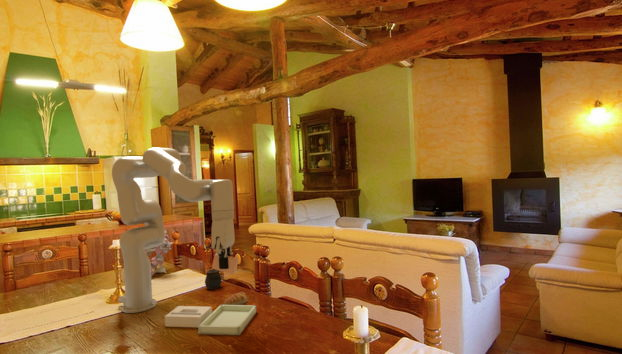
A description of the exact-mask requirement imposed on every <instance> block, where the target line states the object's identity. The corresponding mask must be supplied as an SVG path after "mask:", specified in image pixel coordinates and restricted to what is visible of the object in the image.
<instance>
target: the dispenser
mask: <svg viewBox="0 0 622 354" xmlns="http://www.w3.org/2000/svg"><path fill="white" fill-rule="evenodd" d="M212 308H213V307H212V306H202V305H201V306H199V305H198V306H195V305H192V306H191V305H189V306H188V305H178V306H176V307H174V309H172V310H171V311H170V312H169V313H167V314H166V315H164V327H171V328H173V327H176V328H198V326H199V325H200V324H201V323H202V322H203V321H204V320H205V319H206V318H207V317H208V316H209V315H210V314H211V313H212V312H213V311H212V310H213V309H212Z"/></svg>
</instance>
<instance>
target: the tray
mask: <svg viewBox="0 0 622 354" xmlns="http://www.w3.org/2000/svg"><path fill="white" fill-rule="evenodd" d="M256 313H257V305H254V304H253V305H250V304H248V305H246V304H241V305H223V304H220V305H219V306H217V308H216V309H215V310H214V311H212V313H211V314H210V315H209V316H208V317H207V318H206V319H205V320H204V321H203V322H202V323H201V324H200V325H199V326H198V327H197V330H198V331H197V332H198V335H219V336H222V335H224V336H240V335H241V334H242V332H243V331H244V330H245V328H247V326H248V325H249V323H251V322H250V321H251V320H252V319H253V318H254V316H255V315H256Z"/></svg>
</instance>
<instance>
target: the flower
mask: <svg viewBox="0 0 622 354" xmlns="http://www.w3.org/2000/svg"><path fill="white" fill-rule="evenodd" d="M164 231H165V239H164V242H163V243H162V244H161V245H160V246H158V247H155V248H151V249H147V250H145V253H146V254H147V255H148V257H150V256H151V254H152V253H153V252H155V256H154V257H152V258H150V263H151V277H152V276H154V275H155V274H157V273H161V274H162V273H165V274H167V271H166V269H167V268H166V266H163V264H164V259H165V254H167V253H168V252H169V250H172V248H171V247H172V245H173V244H174V243H173V241H171V242H170V241H169V239H170V236H169V235H168V234H167V229H166V228H164ZM158 266H159V267H158Z"/></svg>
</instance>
